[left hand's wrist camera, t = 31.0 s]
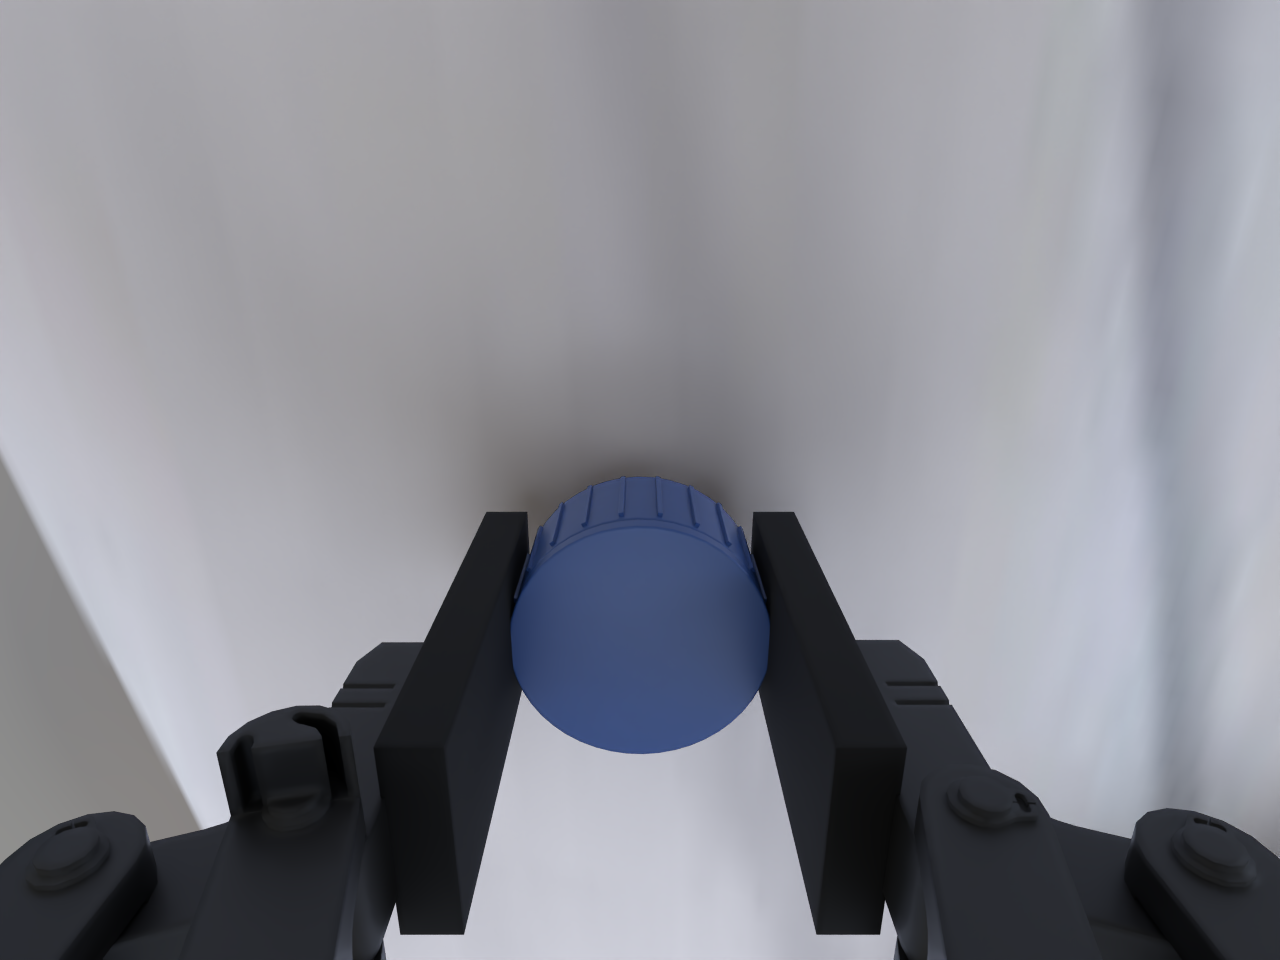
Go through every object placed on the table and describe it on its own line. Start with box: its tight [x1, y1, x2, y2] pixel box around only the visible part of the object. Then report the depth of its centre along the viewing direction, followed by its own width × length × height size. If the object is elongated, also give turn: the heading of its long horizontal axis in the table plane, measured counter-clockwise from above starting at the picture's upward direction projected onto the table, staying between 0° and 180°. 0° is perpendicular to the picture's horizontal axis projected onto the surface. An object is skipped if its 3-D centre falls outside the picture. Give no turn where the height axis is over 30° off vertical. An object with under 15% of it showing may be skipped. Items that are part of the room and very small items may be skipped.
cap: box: [510, 476, 770, 754], centre depth 14 cm, size 4×4×2 cm
